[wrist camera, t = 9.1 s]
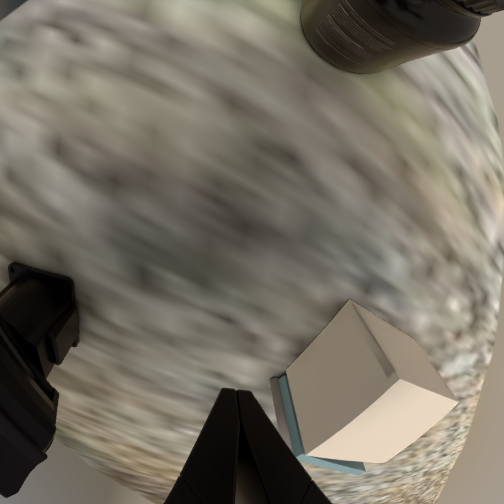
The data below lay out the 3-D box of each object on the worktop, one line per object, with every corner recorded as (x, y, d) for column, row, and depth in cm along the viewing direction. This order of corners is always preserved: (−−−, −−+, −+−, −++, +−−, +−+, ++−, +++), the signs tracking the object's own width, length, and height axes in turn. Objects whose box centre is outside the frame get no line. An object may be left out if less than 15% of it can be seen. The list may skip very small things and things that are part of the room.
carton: (285, 369, 23) (305, 455, 16) (349, 299, 21) (399, 378, 13) (355, 395, 26) (384, 462, 18) (412, 338, 24) (459, 402, 16)
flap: (268, 381, 24) (281, 461, 16) (281, 372, 23) (298, 452, 16) (331, 415, 26) (351, 478, 19) (342, 407, 26) (365, 471, 19)
